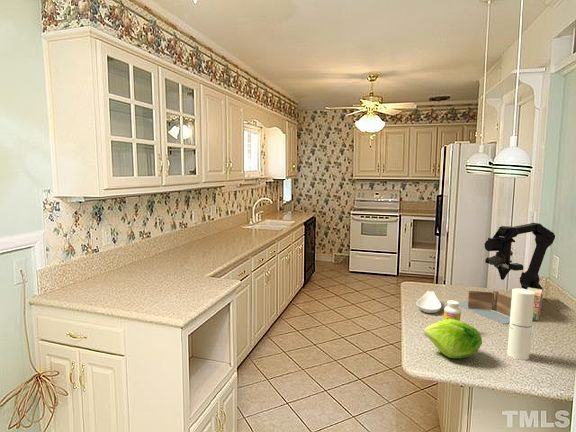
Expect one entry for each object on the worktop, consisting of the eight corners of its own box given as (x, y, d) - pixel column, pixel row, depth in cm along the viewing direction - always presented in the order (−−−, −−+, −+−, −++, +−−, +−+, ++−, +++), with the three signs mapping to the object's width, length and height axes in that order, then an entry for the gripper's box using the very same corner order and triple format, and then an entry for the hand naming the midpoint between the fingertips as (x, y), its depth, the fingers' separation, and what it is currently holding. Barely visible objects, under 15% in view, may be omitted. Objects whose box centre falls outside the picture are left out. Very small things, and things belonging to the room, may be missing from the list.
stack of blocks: (527, 306, 201) (529, 283, 199) (541, 308, 197) (544, 285, 196) (522, 317, 184) (524, 292, 182) (538, 320, 180) (540, 295, 179)
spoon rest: (440, 317, 184) (441, 302, 184) (415, 313, 189) (415, 299, 188) (441, 302, 206) (442, 289, 205) (418, 299, 211) (419, 286, 210)
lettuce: (420, 343, 155) (428, 310, 156) (474, 360, 148) (482, 325, 149) (420, 350, 141) (428, 313, 142) (480, 369, 134) (488, 330, 135)
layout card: (478, 300, 209) (478, 300, 208) (528, 320, 181) (528, 319, 181) (455, 303, 203) (455, 303, 203) (503, 324, 176) (503, 323, 176)
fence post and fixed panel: (494, 309, 195) (495, 291, 194) (522, 320, 180) (523, 300, 179) (490, 309, 194) (492, 291, 193) (518, 320, 180) (519, 301, 179)
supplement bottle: (443, 332, 167) (444, 303, 165) (442, 326, 173) (444, 298, 171) (460, 334, 164) (461, 305, 163) (459, 328, 170) (460, 300, 169)
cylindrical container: (520, 361, 141) (526, 295, 138) (502, 353, 148) (507, 289, 145) (533, 357, 144) (539, 293, 141) (515, 349, 150) (520, 287, 148)
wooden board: (467, 306, 196) (468, 290, 195) (490, 308, 194) (492, 292, 193) (468, 307, 195) (469, 291, 194) (491, 309, 193) (493, 293, 192)
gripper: (478, 248, 207) (476, 276, 209) (508, 255, 190) (506, 285, 192) (494, 246, 211) (491, 274, 213) (525, 253, 194) (522, 284, 195)
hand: (502, 279), depth 203 cm, fingers closed
